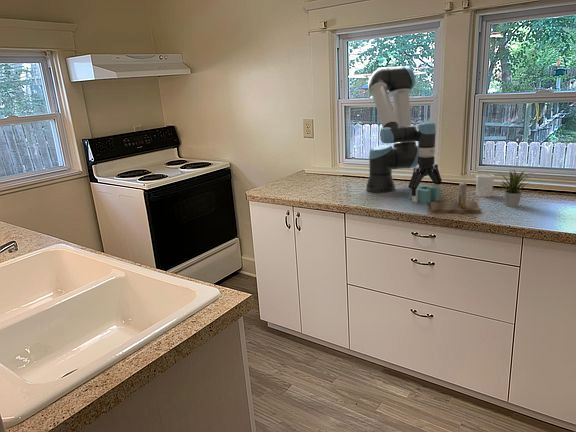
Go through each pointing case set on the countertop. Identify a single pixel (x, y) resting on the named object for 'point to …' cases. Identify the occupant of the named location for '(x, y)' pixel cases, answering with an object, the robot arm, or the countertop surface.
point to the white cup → (484, 185)
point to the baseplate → (456, 204)
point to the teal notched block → (427, 193)
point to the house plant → (513, 189)
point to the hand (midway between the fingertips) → (424, 199)
